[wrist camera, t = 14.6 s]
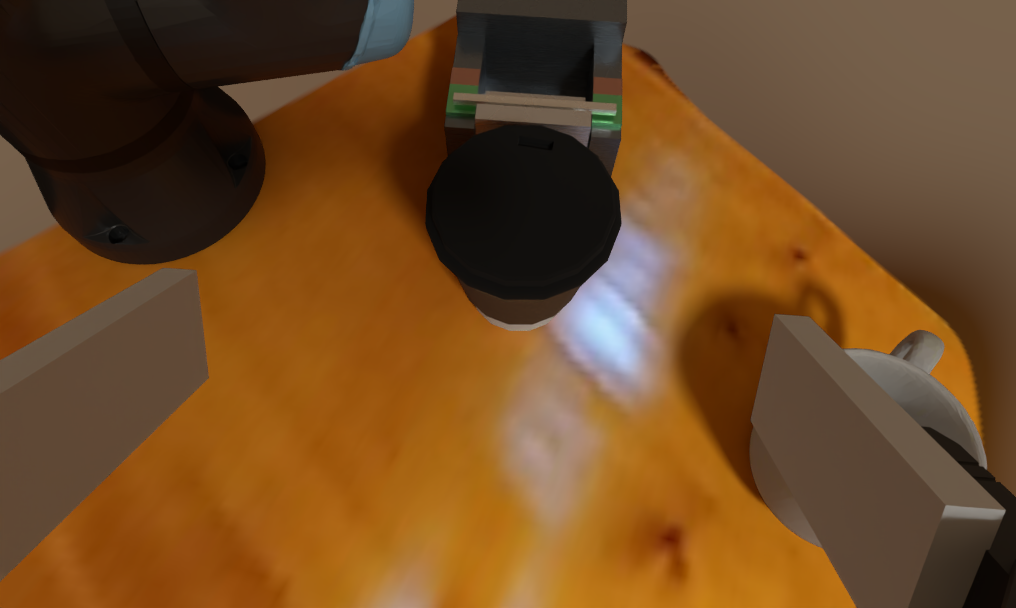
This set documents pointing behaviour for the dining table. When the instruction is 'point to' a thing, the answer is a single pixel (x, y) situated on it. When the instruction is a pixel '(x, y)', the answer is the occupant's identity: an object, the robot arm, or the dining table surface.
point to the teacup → (909, 388)
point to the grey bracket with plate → (534, 111)
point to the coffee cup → (522, 221)
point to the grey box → (540, 60)
